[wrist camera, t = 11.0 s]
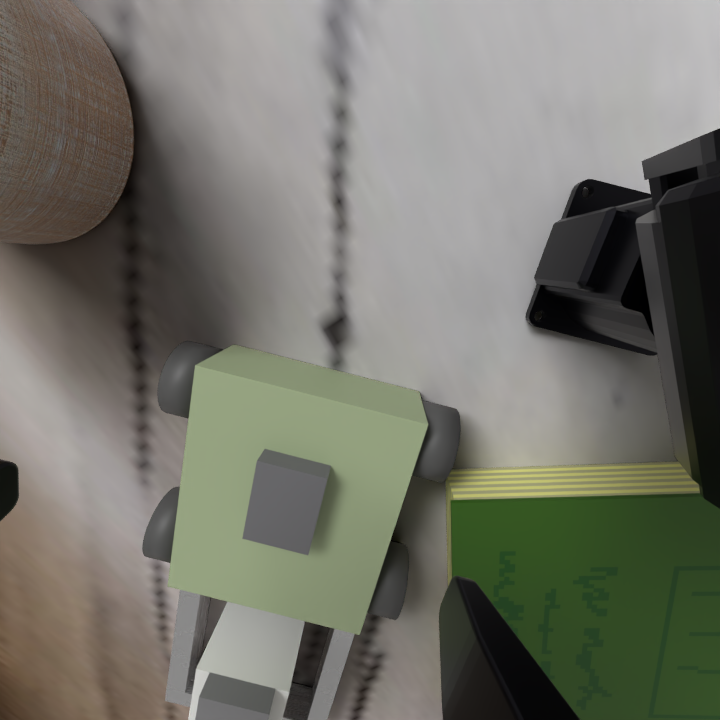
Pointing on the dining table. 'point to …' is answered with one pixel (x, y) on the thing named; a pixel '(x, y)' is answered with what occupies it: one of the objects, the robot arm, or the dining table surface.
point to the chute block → (246, 666)
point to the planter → (59, 124)
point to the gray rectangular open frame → (303, 703)
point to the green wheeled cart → (293, 483)
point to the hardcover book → (599, 580)
